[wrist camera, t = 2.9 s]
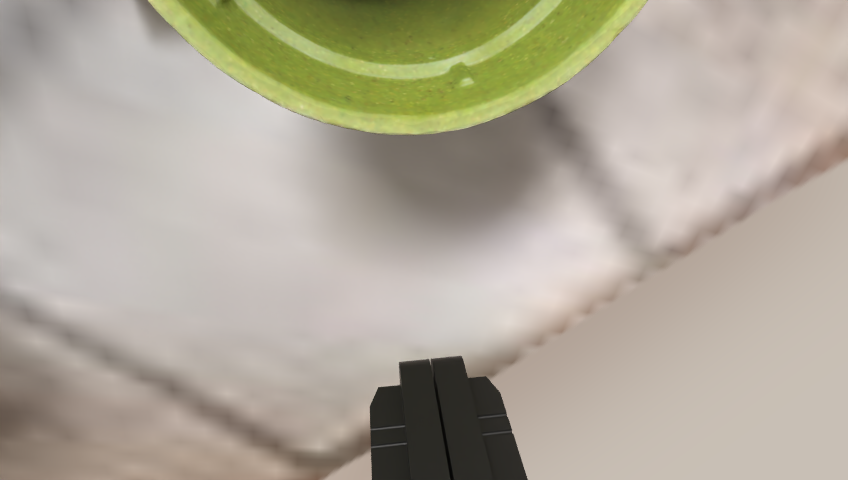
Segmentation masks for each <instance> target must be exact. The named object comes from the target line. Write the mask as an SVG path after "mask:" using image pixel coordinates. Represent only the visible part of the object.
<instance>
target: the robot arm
mask: <svg viewBox="0 0 848 480" xmlns="http://www.w3.org/2000/svg"><path fill="white" fill-rule="evenodd" d="M399 373H400V385H398V386H388V387H378V390H377V392H376V394H375V396H374V399H373V401H372V403H371V405H370V427H371V460H372V461H371V462H372V480H528V479H527V476H526V473H525V470H524V467H523V464H522V461H521V457H520V454H519V451H518V448H517V445H516V441H515V438H514V435H513V434H512V429H511V426H510V423H509V419H508V417H507V414H506V410H505V407H504V404H503V400H502V397H501V394H500V392H499V391H498V390H497V389H496V387H495V386H494V385H493V384H492V383H491V382H490V380H489V379H488V378H487V377H486V376H485V377H475V378H468V377H467V373H466V369H465V365H464V361H463V358H462V356H455V357H445V358H435V359H431V365H430V361H429V359H426V360H416V361H405V362H399Z"/></svg>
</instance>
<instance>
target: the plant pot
mask: <svg viewBox="0 0 848 480" xmlns="http://www.w3.org/2000/svg"><path fill="white" fill-rule="evenodd" d="M647 1H648V0H148V2H149V3H150V4H151V5H152V6H153V7H154V9H155V10H156V11H157V12H158V13H159V14H160V15H161V16H162V17H163V18H164V19H165V20H166V21H167V23H168V24H170V25H171V26H172V27H173V28H174V29H175V30H176V31H177V32H178V33H179V34H180V35H181V36H182V37H183V38H184V39H185V40H186V41H187V42H188V43H189V44H190V45H191V46H192V47H194V48H195V49H196V50H197V51H198V52H199V53H200V54H201V55H202V56H204V57H205V58H206V59H207V60H209V61H210V62H211V63H212V64H214V65H215V66H216V67H217V68H218V69H220V70H221V71H223V72H224V73H225V74H227V75H228V76H230V77H231V78H233V79H234V80H236V81H237V82H239V83H240V84H242V85H244V86H245V87H247V88H249V89H251V90H252V91H254V92H256V93H258V94H260V95H261V96H263V97H265V98H266V99H268V100H270V101H272V102H274V103H276V104H278V105H279V106H281V107H284V108H286V109H288V110H290V111H293V112H295V113H298V114H300V115H302V116H305V117H308V118H310V119H314V120H318V121H320V122H323V123H327V124H332V125H336V126H340V127H343V128H347V129H353V130H359V131H364V132H369V133H375V134H387V135H423V134H435V133H442V132H448V131H455V130H460V129H465V128H469V127H472V126H475V125H478V124H482V123H485V122H488V121H491V120H493V119H496V118H498V117H501V116H503V115H506V114H508V113H511V112H513V111H515V110H517V109H519V108H521V107H524V106H526V105H528V104H530V103H532V102H534V101H536V100H538V99H539V98H541V97H543V96H545V95H546V94H548V93H550V92H552V91H553V90H555V89H557V88H558V87H560V86H561V85H563V84H564V83H566V82H567V81H569V80H570V79H571V78H572V77H574V76H575V75H576V74H577V73H578V72H580V71H581V70H583V69H584V68H585V67H586V66H587V65H589V64H590V63H591V62H592V61H593V60H594V59H595V58H596V57H597V56H598V55H599V54H600V53H602V52H603V51H604V50H605V49H606V48H607V47H608V46H609V45H610V44H611V42H612V41H613V40H614V39H615V38H616V37H617V36H618V35H619V33H620V32H621V31H622V30H623V29H624V28H625V27H626V26H627V25H628V24H629V23H630V22H631V21H632V20H633V19H634V18H635V17H636V16H637V14H638V13H639V12H640V10H641V9H642V8H643V6H644V5H645V4H646V2H647Z"/></svg>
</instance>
